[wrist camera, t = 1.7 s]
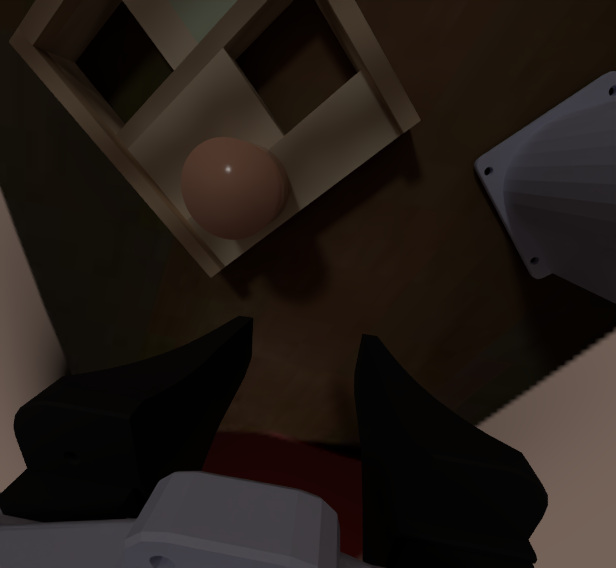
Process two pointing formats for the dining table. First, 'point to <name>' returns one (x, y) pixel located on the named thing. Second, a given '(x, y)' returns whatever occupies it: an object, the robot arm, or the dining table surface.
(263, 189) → the brown rounded lump
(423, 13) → the dining table surface
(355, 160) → the wooden frame
